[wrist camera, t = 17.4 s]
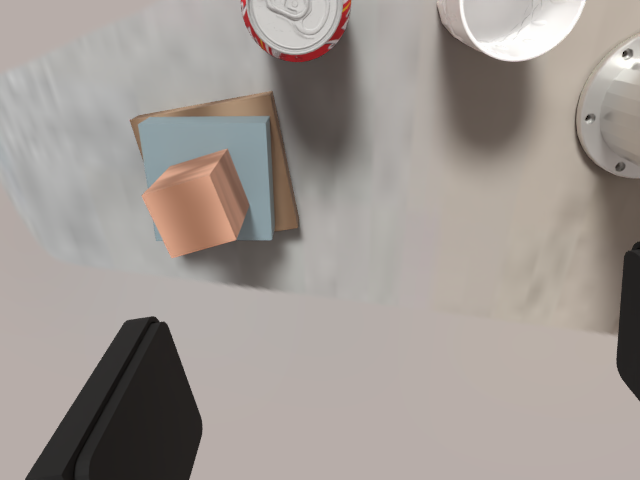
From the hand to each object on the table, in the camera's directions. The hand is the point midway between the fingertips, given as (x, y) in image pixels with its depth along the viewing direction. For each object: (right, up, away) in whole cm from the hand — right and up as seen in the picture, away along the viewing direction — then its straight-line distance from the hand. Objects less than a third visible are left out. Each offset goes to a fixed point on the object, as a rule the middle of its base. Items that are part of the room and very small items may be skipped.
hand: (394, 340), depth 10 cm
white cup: (+11, +21, +30) cm, 39 cm away
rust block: (-11, +6, +31) cm, 34 cm away
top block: (-11, +8, +34) cm, 36 cm away
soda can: (-3, +21, +31) cm, 37 cm away
